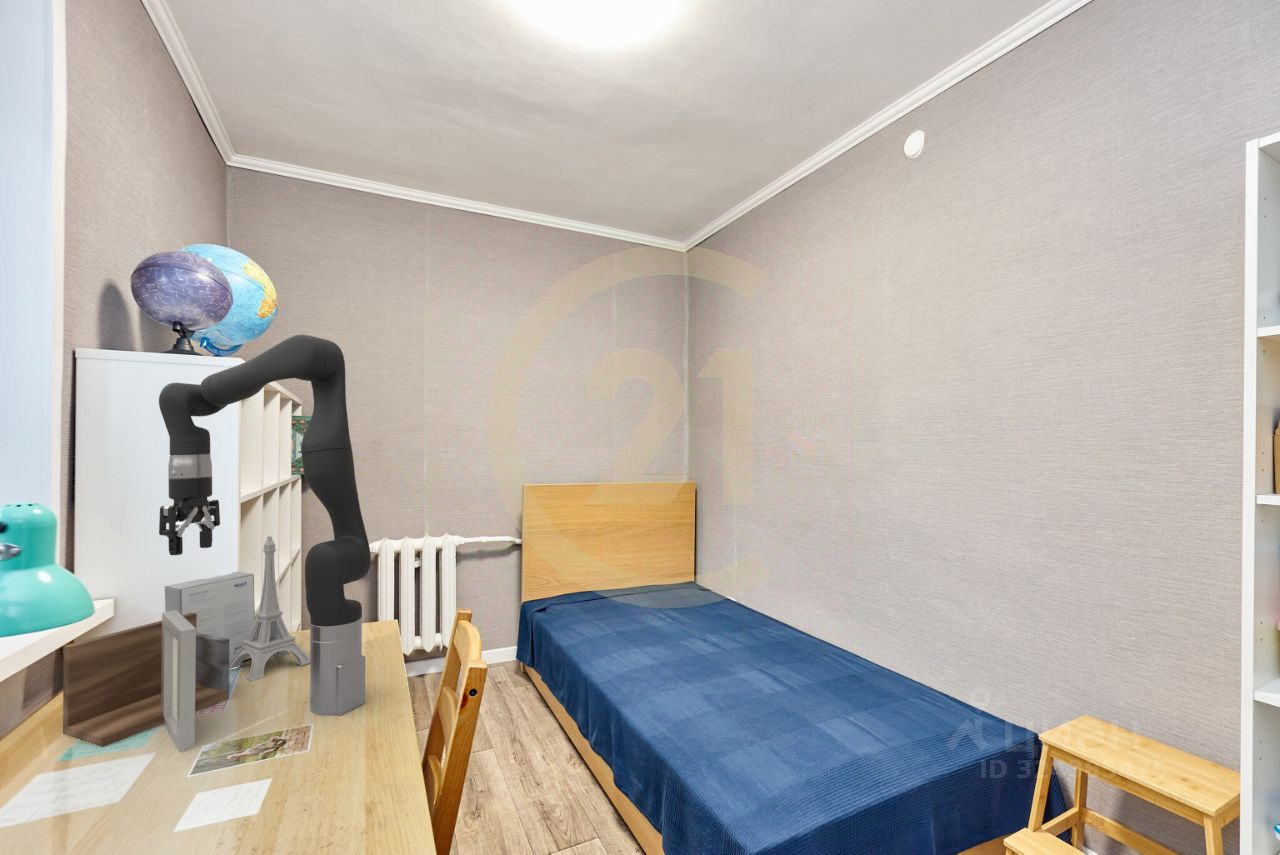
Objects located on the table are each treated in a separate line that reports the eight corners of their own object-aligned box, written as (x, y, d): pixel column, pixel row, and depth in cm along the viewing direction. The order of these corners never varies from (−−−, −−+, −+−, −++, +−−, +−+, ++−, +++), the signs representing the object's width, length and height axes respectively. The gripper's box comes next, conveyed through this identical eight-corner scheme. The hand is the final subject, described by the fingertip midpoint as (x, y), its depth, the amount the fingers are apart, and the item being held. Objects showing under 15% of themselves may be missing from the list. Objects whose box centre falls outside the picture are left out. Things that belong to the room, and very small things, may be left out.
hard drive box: (240, 652, 145) (239, 571, 145) (257, 657, 141) (256, 573, 141) (164, 674, 131) (163, 584, 132) (180, 680, 127) (179, 588, 128)
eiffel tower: (313, 662, 139) (314, 534, 139) (252, 682, 128) (252, 543, 128) (283, 651, 146) (284, 530, 146) (223, 669, 135) (223, 538, 135)
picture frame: (160, 724, 110) (162, 612, 110) (179, 718, 112) (181, 609, 112) (179, 755, 99) (180, 631, 99) (199, 748, 101) (201, 627, 102)
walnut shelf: (229, 698, 119) (229, 619, 119) (102, 750, 100) (102, 655, 100) (191, 689, 124) (191, 612, 124) (62, 736, 104) (63, 645, 105)
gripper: (182, 477, 120) (183, 557, 120) (230, 473, 134) (231, 544, 134) (145, 478, 120) (146, 558, 120) (197, 474, 134) (198, 545, 134)
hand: (191, 551), depth 127 cm, fingers open, 8 cm apart
